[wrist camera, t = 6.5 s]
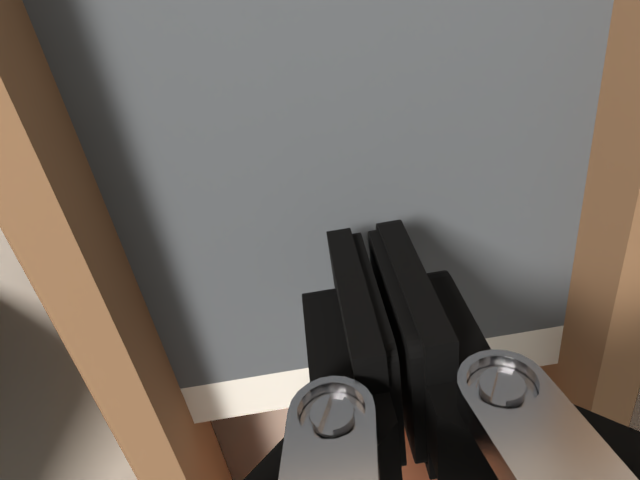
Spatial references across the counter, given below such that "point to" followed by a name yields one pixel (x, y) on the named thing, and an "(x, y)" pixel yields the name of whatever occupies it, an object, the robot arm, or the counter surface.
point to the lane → (315, 189)
